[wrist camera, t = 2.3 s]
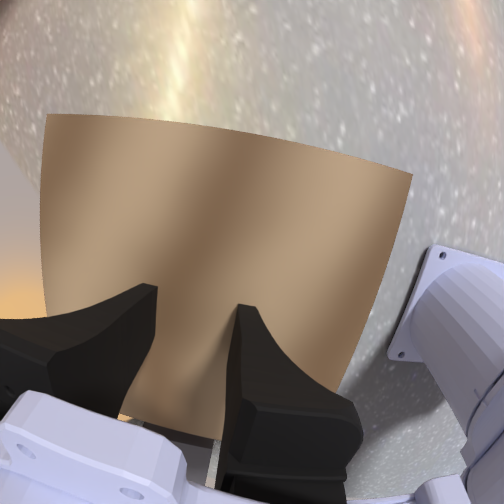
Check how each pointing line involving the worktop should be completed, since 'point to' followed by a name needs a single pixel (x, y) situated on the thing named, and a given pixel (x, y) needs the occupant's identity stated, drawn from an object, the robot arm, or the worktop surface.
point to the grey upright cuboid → (189, 450)
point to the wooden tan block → (214, 247)
